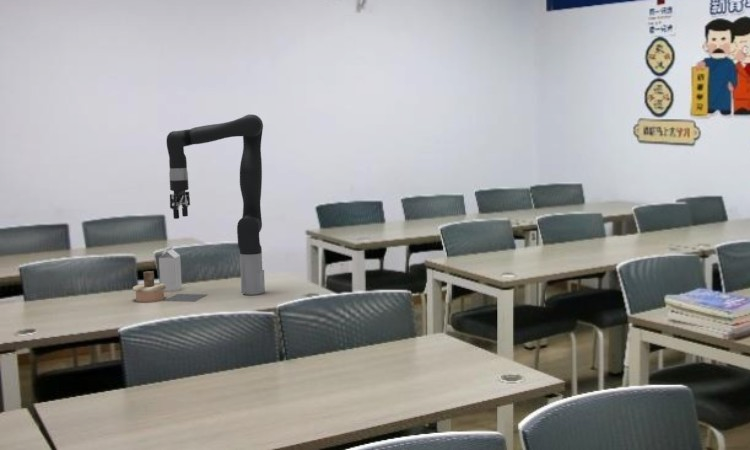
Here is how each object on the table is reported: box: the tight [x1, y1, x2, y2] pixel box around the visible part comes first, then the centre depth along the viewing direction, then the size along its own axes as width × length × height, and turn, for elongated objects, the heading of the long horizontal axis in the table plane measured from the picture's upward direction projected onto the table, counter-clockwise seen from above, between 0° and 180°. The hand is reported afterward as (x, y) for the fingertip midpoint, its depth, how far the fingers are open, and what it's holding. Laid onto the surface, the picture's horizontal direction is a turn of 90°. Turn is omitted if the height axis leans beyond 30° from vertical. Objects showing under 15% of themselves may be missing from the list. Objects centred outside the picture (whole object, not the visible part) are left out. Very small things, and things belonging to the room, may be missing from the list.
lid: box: [132, 270, 166, 292], centre depth 340 cm, size 13×13×7 cm
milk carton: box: [158, 246, 183, 292], centre depth 359 cm, size 7×7×19 cm
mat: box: [163, 293, 209, 303], centre depth 342 cm, size 14×14×1 cm
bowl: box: [135, 289, 165, 303], centre depth 340 cm, size 11×11×5 cm
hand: (180, 217), depth 346 cm, fingers open, 8 cm apart
